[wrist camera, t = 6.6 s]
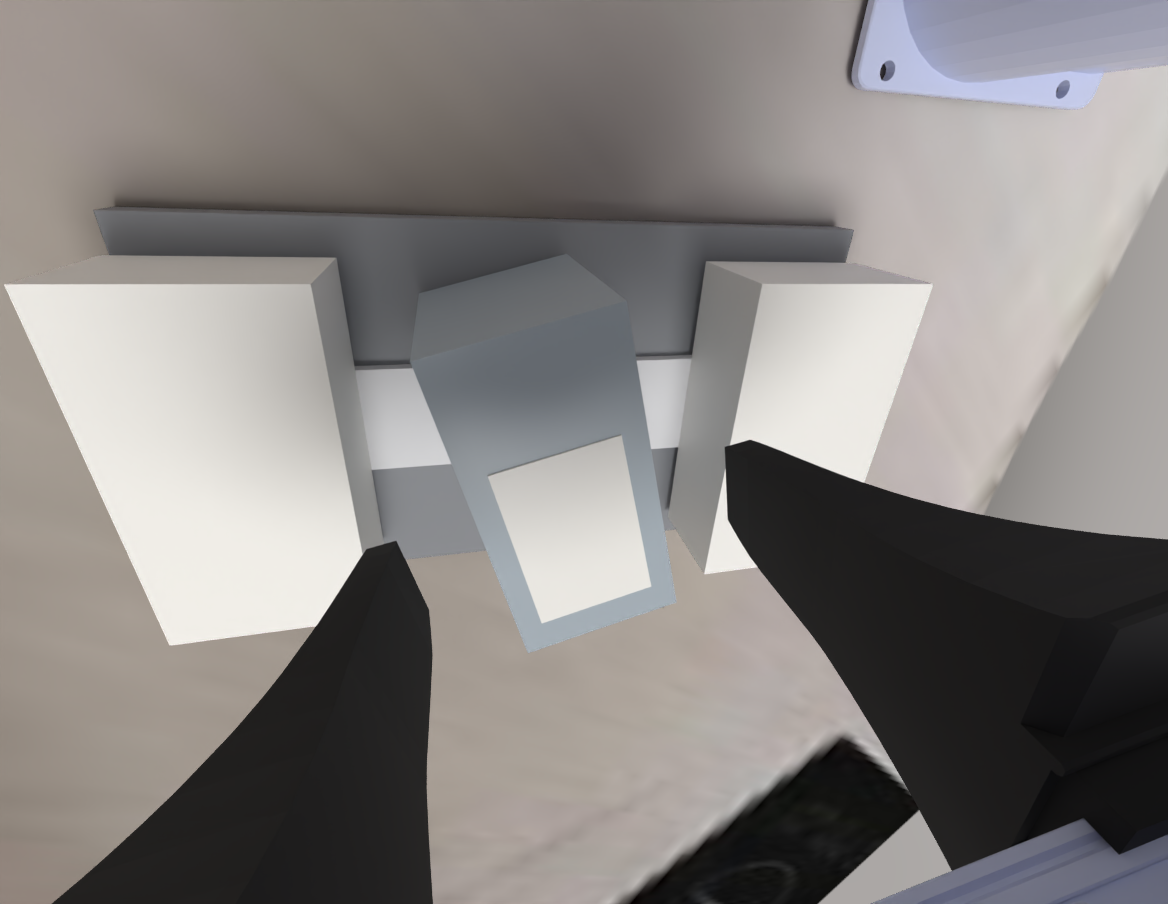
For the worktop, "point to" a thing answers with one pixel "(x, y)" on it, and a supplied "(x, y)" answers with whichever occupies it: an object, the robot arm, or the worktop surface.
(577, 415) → the block
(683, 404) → the rail board
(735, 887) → the worktop surface
